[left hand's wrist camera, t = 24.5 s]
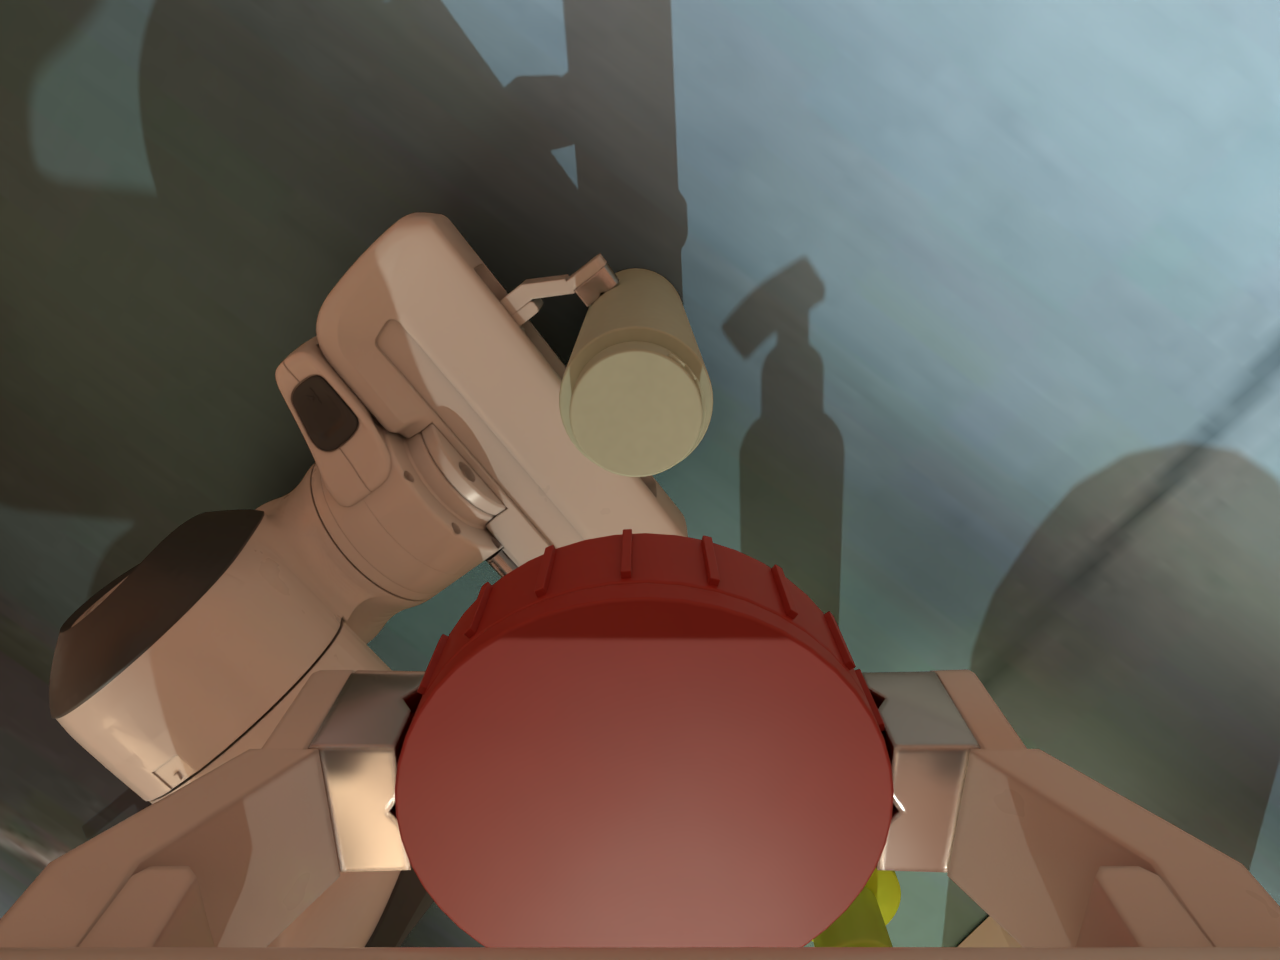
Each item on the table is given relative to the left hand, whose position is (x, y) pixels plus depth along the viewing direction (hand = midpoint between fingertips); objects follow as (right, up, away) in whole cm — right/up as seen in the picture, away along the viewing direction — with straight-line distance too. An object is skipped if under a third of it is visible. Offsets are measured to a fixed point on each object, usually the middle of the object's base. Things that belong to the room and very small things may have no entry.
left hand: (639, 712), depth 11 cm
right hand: (0, +10, +26) cm, 28 cm away
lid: (0, -1, -1) cm, 2 cm away
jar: (0, +12, +31) cm, 33 cm away
